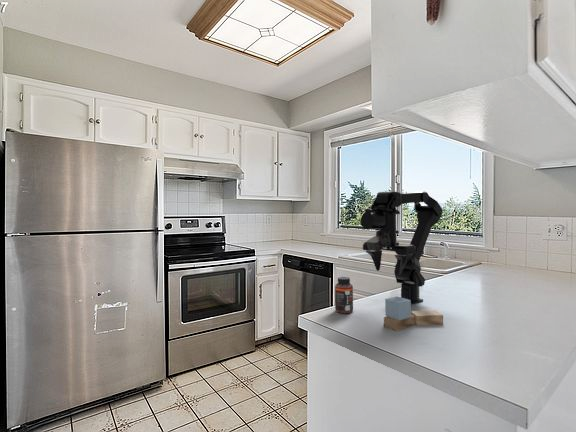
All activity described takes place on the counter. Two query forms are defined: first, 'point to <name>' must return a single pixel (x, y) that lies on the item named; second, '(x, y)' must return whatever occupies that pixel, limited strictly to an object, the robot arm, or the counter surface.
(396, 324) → the base brick
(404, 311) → the cube
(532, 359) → the counter surface
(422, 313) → the brick
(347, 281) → the supplement bottle
